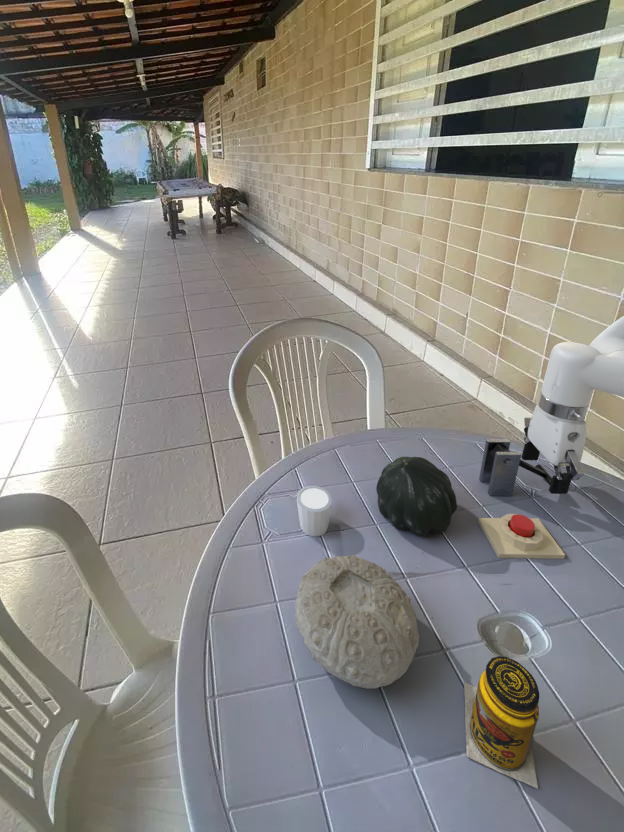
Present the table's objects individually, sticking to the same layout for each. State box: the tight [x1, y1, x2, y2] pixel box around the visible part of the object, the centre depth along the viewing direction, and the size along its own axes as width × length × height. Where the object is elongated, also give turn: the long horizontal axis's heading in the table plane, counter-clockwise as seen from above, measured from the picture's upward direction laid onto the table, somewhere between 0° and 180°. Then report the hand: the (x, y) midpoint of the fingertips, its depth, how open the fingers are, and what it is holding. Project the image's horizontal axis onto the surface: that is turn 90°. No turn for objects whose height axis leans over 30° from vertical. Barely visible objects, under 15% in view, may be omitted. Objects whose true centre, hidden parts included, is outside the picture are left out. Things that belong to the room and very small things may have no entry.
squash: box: [375, 456, 458, 538], centre depth 83 cm, size 14×15×15 cm
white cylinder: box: [296, 485, 333, 537], centre depth 84 cm, size 7×7×7 cm
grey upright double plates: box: [478, 438, 522, 497], centre depth 88 cm, size 12×9×12 cm
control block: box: [477, 513, 566, 560], centre depth 77 cm, size 11×8×4 cm
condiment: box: [463, 655, 540, 790], centre depth 51 cm, size 7×8×12 cm
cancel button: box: [510, 513, 535, 538], centre depth 76 cm, size 4×4×2 cm
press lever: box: [490, 444, 553, 486], centre depth 87 cm, size 13×5×2 cm, turn 86°
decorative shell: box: [294, 554, 420, 690], centre depth 63 cm, size 18×18×10 cm
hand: (542, 475), depth 88 cm, fingers open, 9 cm apart
